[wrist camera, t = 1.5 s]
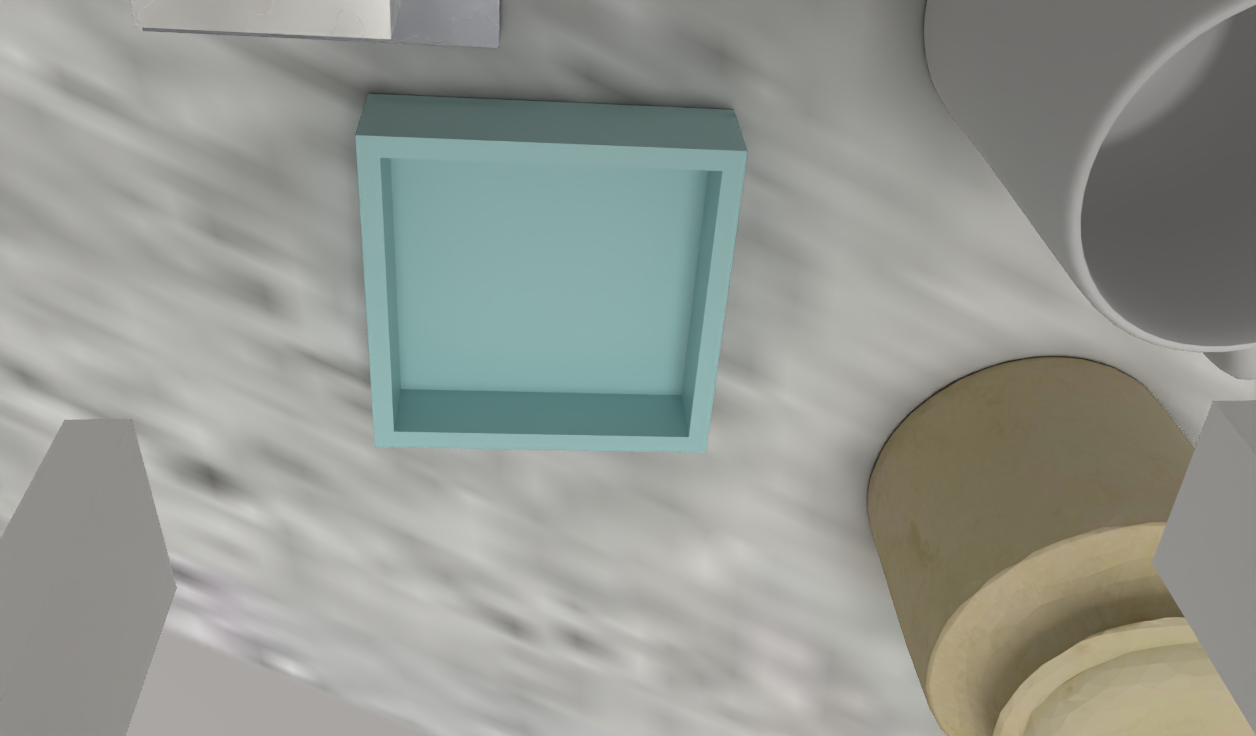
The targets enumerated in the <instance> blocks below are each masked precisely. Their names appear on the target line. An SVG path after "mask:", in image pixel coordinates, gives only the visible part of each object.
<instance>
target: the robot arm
mask: <svg viewBox="0 0 1256 736" xmlns="http://www.w3.org/2000/svg"><path fill="white" fill-rule="evenodd" d="M1152 564H1153V565H1154V567H1155V569H1156V570H1157V572H1158V574H1159V575H1160V577H1161V579H1162V580H1163V582H1164V584H1165V585H1166V587H1167V589H1168V590H1169V592H1170V594H1171V595H1172V597H1173V599H1174V600H1175V602H1176V604H1177V605H1178V607H1179V609H1180V610H1181V612H1182V614H1183V615H1184V617H1185V619H1186V620H1187V622H1188V624H1189V625H1190V627H1191V629H1192V630H1193V632H1194V634H1195V635H1196V637H1197V639H1198V640H1199V642H1200V644H1201V645H1202V647H1203V649H1204V650H1205V652H1206V654H1207V655H1208V657H1209V659H1210V660H1211V662H1212V664H1213V665H1214V667H1215V669H1216V670H1217V672H1218V674H1219V675H1220V677H1221V679H1222V680H1223V682H1224V684H1225V685H1226V687H1227V689H1228V690H1229V692H1230V694H1231V695H1232V697H1233V698H1234V700H1235V702H1236V703H1237V705H1238V707H1239V708H1240V710H1241V712H1242V713H1243V715H1244V717H1245V718H1246V720H1247V722H1248V723H1249V725H1250V727H1251V728H1252V730H1253V732H1254V733H1255V735H1256V400H1251V401H1213V403H1212V406H1211V408H1210V411H1209V413H1208V416H1207V419H1206V421H1205V424H1204V427H1203V429H1202V432H1201V435H1200V437H1199V440H1198V442H1197V445H1196V448H1195V450H1194V453H1193V456H1192V458H1191V461H1190V463H1189V466H1188V469H1187V471H1186V474H1185V477H1184V479H1183V482H1182V485H1181V487H1180V490H1179V492H1178V495H1177V498H1176V500H1175V503H1174V506H1173V508H1172V511H1171V513H1170V516H1169V519H1168V521H1167V524H1166V527H1165V529H1164V532H1163V534H1162V537H1161V540H1160V542H1159V545H1158V548H1157V550H1156V553H1155V556H1154V558H1153V561H1152ZM176 588H177V587H176V583H175V579H174V575H173V572H172V568H171V564H170V560H169V557H168V553H167V549H166V545H165V542H164V538H163V534H162V530H161V527H160V523H159V519H158V515H157V512H156V508H155V504H154V500H153V497H152V493H151V489H150V485H149V481H148V478H147V474H146V470H145V466H144V463H143V459H142V455H141V451H140V448H139V444H138V440H137V436H136V433H135V429H134V425H133V421H132V419H94V420H64V422H63V424H62V426H61V428H60V429H59V431H58V433H57V435H56V437H55V439H54V441H53V442H52V444H51V446H50V448H49V450H48V452H47V454H46V455H45V457H44V459H43V461H42V463H41V465H40V467H39V468H38V470H37V472H36V474H35V476H34V478H33V480H32V481H31V483H30V485H29V487H28V489H27V491H26V493H25V494H24V496H23V498H22V500H21V502H20V504H19V506H18V507H17V509H16V511H15V513H14V515H13V517H12V519H11V520H10V522H9V524H8V526H7V528H6V530H5V532H4V533H3V535H2V537H1V539H0V736H125V735H126V733H127V730H128V727H129V724H130V721H131V718H132V715H133V712H134V709H135V706H136V704H137V701H138V698H139V695H140V692H141V689H142V686H143V683H144V680H145V678H146V675H147V672H148V669H149V666H150V663H151V660H152V657H153V654H154V652H155V649H156V646H157V642H158V640H159V637H160V634H161V631H162V628H163V625H164V623H165V620H166V617H167V614H168V611H169V608H170V605H171V602H172V599H173V597H174V594H175V591H176Z"/></svg>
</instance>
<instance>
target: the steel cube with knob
mask: <svg viewBox="0 0 1256 736" xmlns="http://www.w3.org/2000/svg"><path fill="white" fill-rule="evenodd" d="M402 1H403V0H130V4H131V10H132V16H133V22H134V27H144V28H165V29H186V30H206V31H227V32H248V33H269V34H289V35H310V36H331V37H351V38H372V39H391V38H392V35H393V31H394V28H395V25H396V21H397V18H398V14H399V11H400V8H401V4H402Z"/></svg>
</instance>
